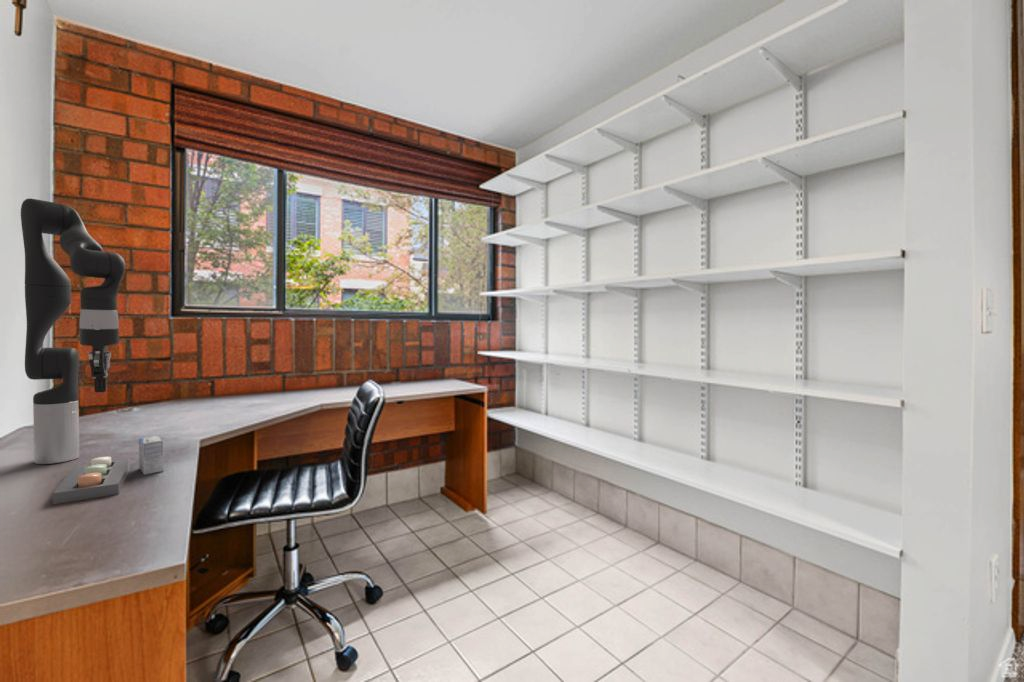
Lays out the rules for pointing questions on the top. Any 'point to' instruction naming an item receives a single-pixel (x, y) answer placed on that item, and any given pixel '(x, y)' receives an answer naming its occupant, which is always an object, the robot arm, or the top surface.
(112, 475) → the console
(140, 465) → the medicine box
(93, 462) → the ivory button
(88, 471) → the sage button
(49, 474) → the top surface
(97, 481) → the orange button
